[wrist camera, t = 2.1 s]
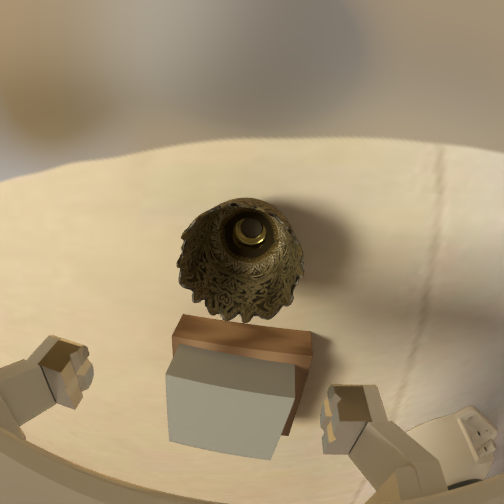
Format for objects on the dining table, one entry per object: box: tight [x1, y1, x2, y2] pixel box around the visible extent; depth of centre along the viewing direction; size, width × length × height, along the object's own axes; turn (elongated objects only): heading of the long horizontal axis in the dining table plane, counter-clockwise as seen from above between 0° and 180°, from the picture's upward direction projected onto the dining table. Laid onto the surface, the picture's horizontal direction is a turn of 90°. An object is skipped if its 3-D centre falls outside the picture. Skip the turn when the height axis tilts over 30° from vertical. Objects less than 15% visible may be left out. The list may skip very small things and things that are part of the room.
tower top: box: [166, 344, 295, 460], centre depth 26 cm, size 10×10×4 cm
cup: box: [177, 198, 304, 323], centre depth 22 cm, size 8×7×8 cm
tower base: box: [172, 314, 313, 436], centre depth 30 cm, size 12×12×4 cm
